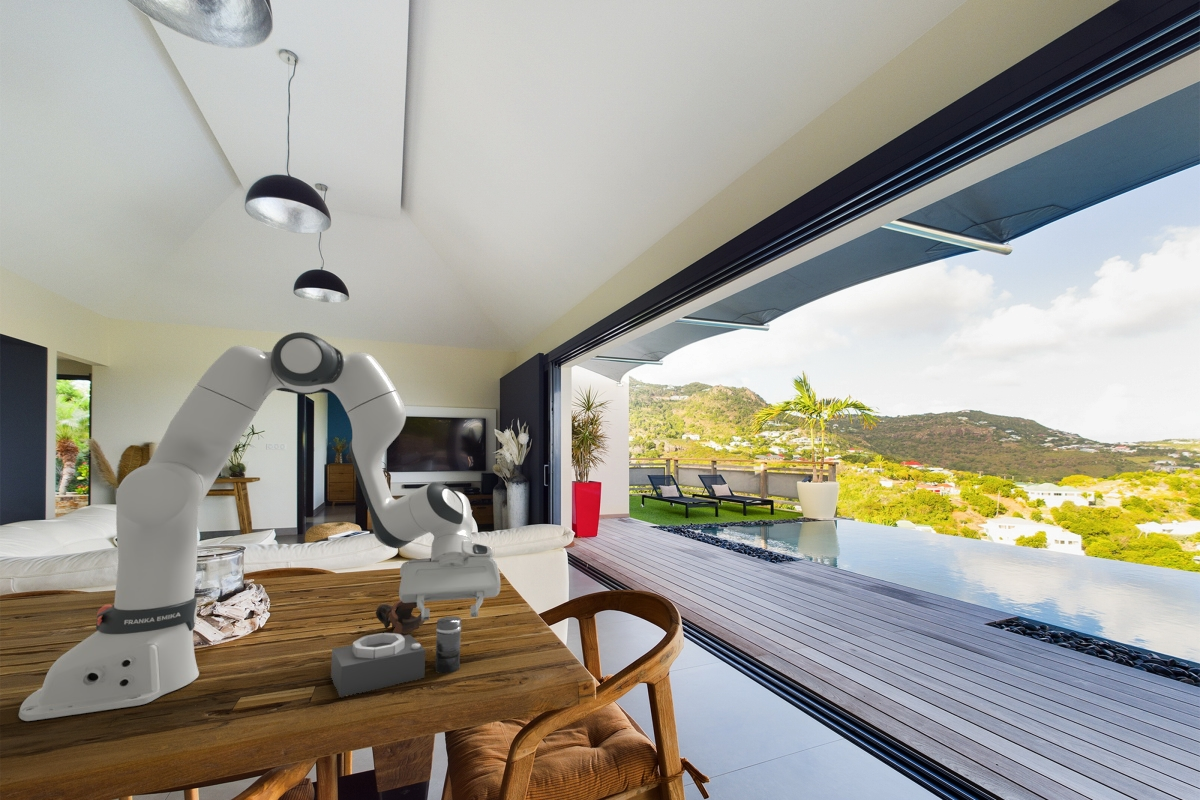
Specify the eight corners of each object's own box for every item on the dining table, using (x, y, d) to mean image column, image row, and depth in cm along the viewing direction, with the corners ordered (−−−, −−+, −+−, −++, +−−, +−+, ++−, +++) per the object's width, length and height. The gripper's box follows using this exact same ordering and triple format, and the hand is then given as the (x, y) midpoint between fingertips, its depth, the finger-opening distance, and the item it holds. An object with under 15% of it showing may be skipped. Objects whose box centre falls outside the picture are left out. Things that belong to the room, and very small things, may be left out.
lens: (439, 675, 99) (441, 625, 100) (431, 667, 102) (433, 618, 103) (463, 670, 101) (465, 621, 102) (454, 662, 105) (456, 614, 106)
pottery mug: (429, 626, 129) (434, 599, 126) (414, 657, 120) (419, 630, 117) (381, 613, 128) (385, 586, 125) (362, 643, 119) (365, 615, 116)
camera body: (340, 697, 89) (342, 657, 90) (330, 677, 98) (332, 640, 98) (424, 678, 97) (425, 641, 98) (409, 660, 105) (410, 626, 106)
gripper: (400, 551, 112) (393, 613, 101) (499, 546, 117) (502, 605, 107) (402, 568, 116) (395, 629, 105) (497, 563, 121) (500, 621, 111)
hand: (450, 617), depth 106 cm, fingers open, 8 cm apart
